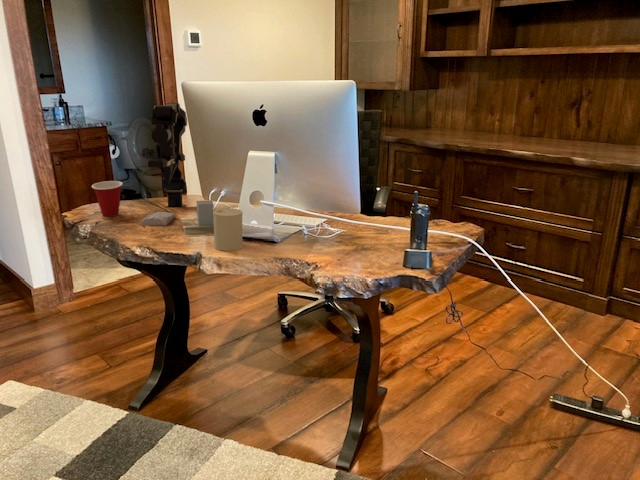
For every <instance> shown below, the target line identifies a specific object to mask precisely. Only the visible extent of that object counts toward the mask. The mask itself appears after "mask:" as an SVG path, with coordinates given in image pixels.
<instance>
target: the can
mask: <svg viewBox="0 0 640 480" xmlns="http://www.w3.org/2000/svg"><path fill="white" fill-rule="evenodd" d="M243 212H244V211H243V210H241V209H237V208H231V207H230V208H228V207H227V208H225V207H224V208H219V209H215V210H213V215H214V232H213V235H214V236H213V239H214V240H213V242H214V243H213V247H214V249H215V250H217V249H218V250H217V251H221V250H223V251H222V252H234V251H238V250H241V249H242V248H243V247H244V243H243V242H244V241H243Z"/></svg>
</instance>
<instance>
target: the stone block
mask: <svg viewBox="0 0 640 480" xmlns="http://www.w3.org/2000/svg"><path fill="white" fill-rule="evenodd" d="M174 219H175V213H174V212H165V211H157V212H152V213H149V214H148V215H145V217H144V218H143V219H141V222H140V223H141V226H142V228H143V229H146V226H168V224H169V223H171V222H172V221H173V220H174Z"/></svg>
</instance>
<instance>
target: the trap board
mask: <svg viewBox="0 0 640 480" xmlns="http://www.w3.org/2000/svg"><path fill="white" fill-rule="evenodd" d="M180 221H181V223H194V224H195V225H183V226H182V228H183V233H184V234H185V235H190V234H206V233H207V234H209V233H210V234H211V233H214V226H198V223H197V216H196V217H195V216H194V217H193V216H192V217H180ZM212 236H213V237H214V234H212V235H207V237H212ZM195 237H199V235H195V236H190V238H195Z"/></svg>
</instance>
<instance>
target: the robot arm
mask: <svg viewBox="0 0 640 480" xmlns="http://www.w3.org/2000/svg"><path fill="white" fill-rule="evenodd" d="M151 114H152V115H151V126H155V128H154V129H153V130H152V131H151V139H152V141H153V142H154V143H155V144H154V148H149V147H143V148H142V149H141V157H143V158H144V159H145V161H146V167H147V168H158V169H159V170H160V171H161V173H162V176H163V178H162V179H161V187H162V193H163V194H164V195H165V194H167V206H165V207H164V208H165V209H168V208H169V209H170V208H186V207H187V205H186V204H183V195H185V194H188V186H187V182H186V181H185V178H184V175H183V173H182V171H181V170H180V169H181V167H180V166H181V162H185V161H186V155H185V154H184V153H183V152H181V148H182V147H181V144H182V136H183V135H184V133H185V132H186V127H187V126H188V118H187V114H186V111H185V110H184V109H183V108H181V105H180V103H178V102H166V103H165V104H164V105H159V104H157V105H154V107H153V108H152V113H151Z"/></svg>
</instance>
